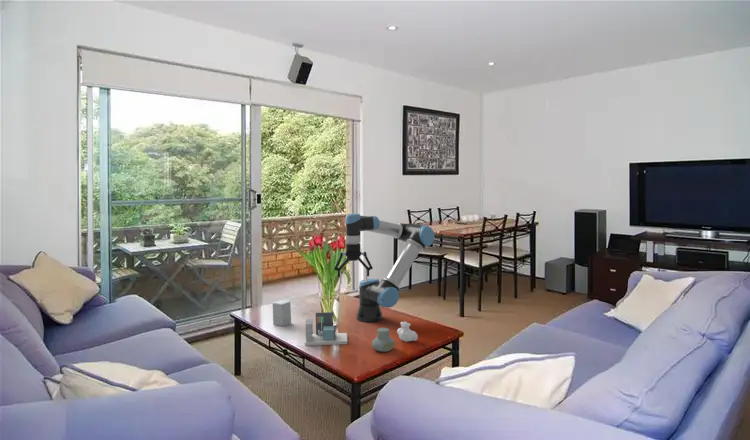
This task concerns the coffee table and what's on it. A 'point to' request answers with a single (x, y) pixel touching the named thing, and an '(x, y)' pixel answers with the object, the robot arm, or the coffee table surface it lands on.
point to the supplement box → (281, 313)
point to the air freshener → (383, 341)
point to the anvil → (309, 330)
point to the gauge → (327, 332)
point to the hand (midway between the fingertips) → (353, 282)
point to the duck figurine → (406, 333)
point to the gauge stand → (326, 321)
